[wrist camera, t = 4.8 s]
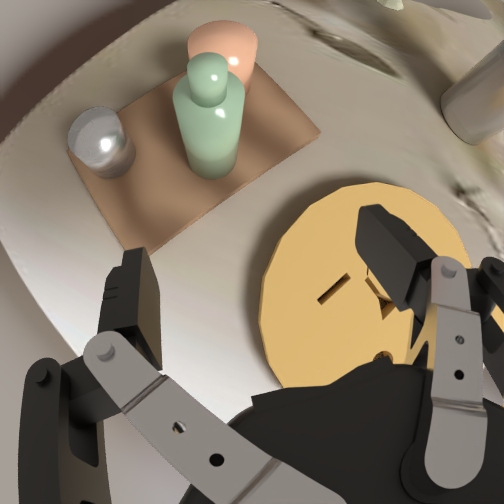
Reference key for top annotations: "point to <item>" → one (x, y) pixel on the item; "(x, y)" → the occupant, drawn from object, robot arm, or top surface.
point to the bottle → (209, 115)
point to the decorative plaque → (341, 287)
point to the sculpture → (392, 4)
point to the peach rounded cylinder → (227, 46)
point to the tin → (102, 143)
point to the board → (177, 167)
